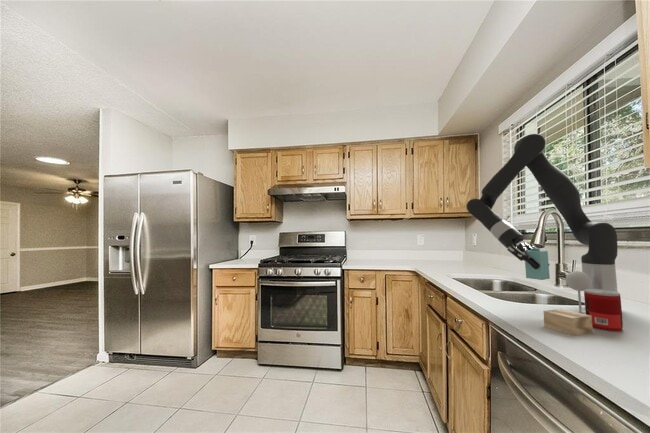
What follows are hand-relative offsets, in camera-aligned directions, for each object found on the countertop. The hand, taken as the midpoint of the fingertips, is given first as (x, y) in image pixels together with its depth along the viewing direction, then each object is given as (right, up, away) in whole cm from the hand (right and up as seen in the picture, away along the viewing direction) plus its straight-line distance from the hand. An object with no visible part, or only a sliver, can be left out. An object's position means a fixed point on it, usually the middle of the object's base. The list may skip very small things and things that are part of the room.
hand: (542, 267), depth 96 cm
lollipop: (+16, -17, +3) cm, 24 cm away
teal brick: (-1, -4, +1) cm, 5 cm away
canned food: (+9, -16, -13) cm, 23 cm away
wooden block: (-4, -17, -14) cm, 22 cm away
